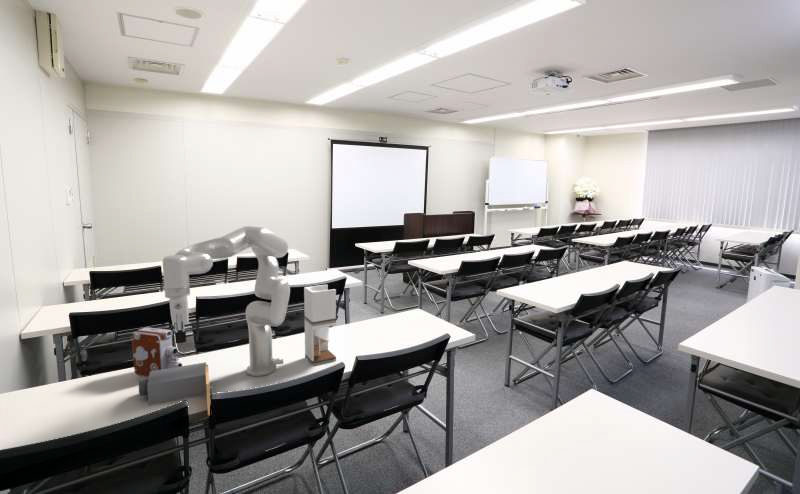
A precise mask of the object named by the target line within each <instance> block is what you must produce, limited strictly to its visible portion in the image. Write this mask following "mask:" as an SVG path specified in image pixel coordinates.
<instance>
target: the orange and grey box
mask: <svg viewBox="0 0 800 494" xmlns="http://www.w3.org/2000/svg"><path fill="white" fill-rule="evenodd" d="M205 365H207V362H206V361H205V362H201V363H200V362H199V363H193V364H188V365H186V364H185V365H182V366H180V367H174V368H168V369H162V370H156V371H150V374H149V377H147V378H144V379H139V382H138V392H139V397H144V396H147V400H148V402H147V403H148V406H151V405H156V404H162V403H167V402H172V401H176V400H181V399H186V398H191V397H196V396H201V395H207V389H206V370H205Z"/></svg>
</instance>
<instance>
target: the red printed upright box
mask: <svg viewBox="0 0 800 494" xmlns="http://www.w3.org/2000/svg"><path fill="white" fill-rule="evenodd" d="M131 345H132V346H131V347H132V358H133V369H134V374H135V375H136V376H140V377H147V378H149V374H150V371H156V370H162V369H168V368H174V367H180V366H183V364H182V362H179V359H180V358H179V356H176V355H177V354H178V348H177V347H176V346H173V330H171V329H167V328H158V327H149V326H146V327H145V326H144V327H143V328H138V330H135V331H134V332H132V333H131Z"/></svg>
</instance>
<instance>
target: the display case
mask: <svg viewBox="0 0 800 494" xmlns="http://www.w3.org/2000/svg"><path fill="white" fill-rule="evenodd" d="M328 287H329V285H328V284H320V285H312V286H304V288H303V292H304V293H303V298H304V299H303V300H304V301H303V302H304V306H303V307H304V311H303V312H304V358H305V359H306V360H307V361H308V363H309V364H310V365H311V367H315V366H321V365H324V364H328V363H333V362H336V361H337V357H336V355H334V354H333V352H331V351H330V350H329V342H330V327H334V326H336V325H337V289H335V288H333V289H329V288H328Z"/></svg>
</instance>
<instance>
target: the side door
mask: <svg viewBox="0 0 800 494" xmlns="http://www.w3.org/2000/svg"><path fill="white" fill-rule="evenodd" d="M205 370H206V389H207V394H206V403H207V416H211V415H210V405H211V399H210V396H211V394H213V393H214V391H213V386H210V373H209V364H206V365H205Z"/></svg>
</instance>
